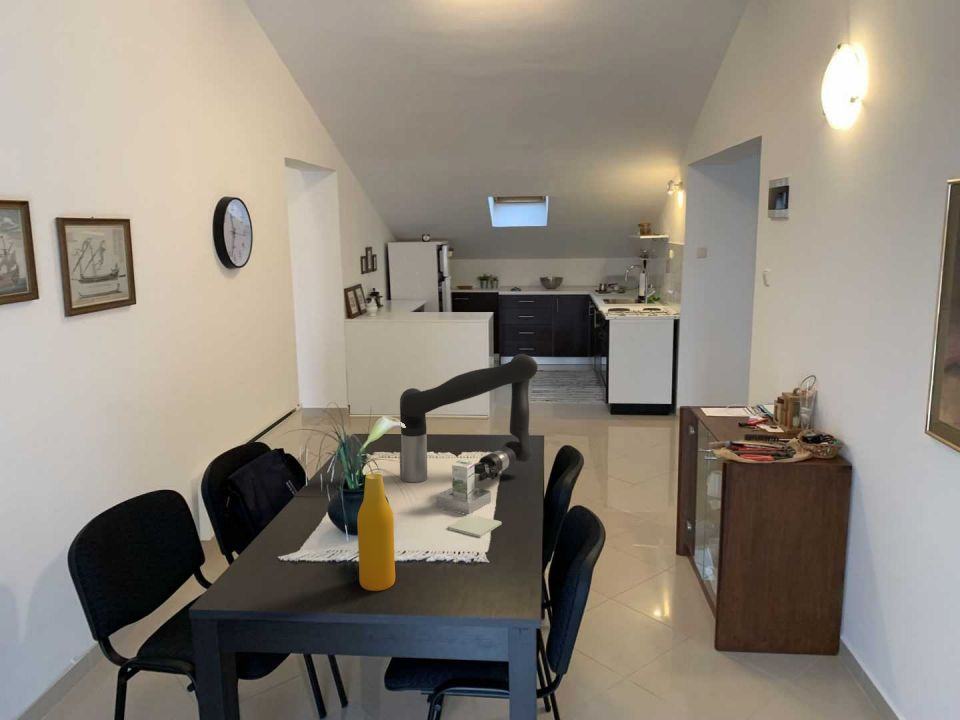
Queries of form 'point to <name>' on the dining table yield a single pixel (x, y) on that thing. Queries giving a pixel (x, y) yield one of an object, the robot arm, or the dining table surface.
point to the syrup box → (463, 479)
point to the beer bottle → (375, 537)
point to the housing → (463, 501)
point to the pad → (474, 525)
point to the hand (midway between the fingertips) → (468, 476)
